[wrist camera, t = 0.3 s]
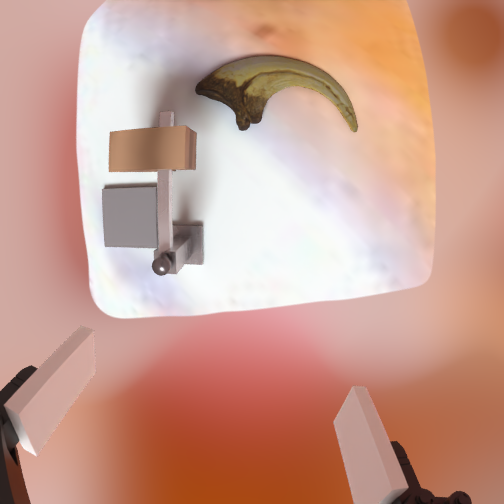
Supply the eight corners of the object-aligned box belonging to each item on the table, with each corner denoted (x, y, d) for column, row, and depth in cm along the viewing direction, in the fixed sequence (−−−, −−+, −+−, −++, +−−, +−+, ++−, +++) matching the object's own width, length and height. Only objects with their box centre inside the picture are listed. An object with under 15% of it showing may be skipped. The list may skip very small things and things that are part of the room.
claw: (202, 135, 36) (197, 131, 33) (199, 64, 33) (194, 54, 30) (354, 130, 36) (363, 126, 32) (346, 61, 33) (353, 52, 30)
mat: (104, 188, 37) (102, 189, 37) (157, 186, 37) (155, 187, 37) (106, 245, 39) (104, 246, 39) (158, 247, 39) (156, 248, 39)
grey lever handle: (166, 125, 35) (136, 110, 25) (204, 124, 35) (185, 106, 25) (166, 262, 40) (139, 289, 30) (203, 263, 40) (185, 291, 30)
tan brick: (146, 171, 37) (108, 171, 26) (147, 141, 36) (109, 131, 25) (204, 170, 37) (184, 168, 26) (205, 139, 36) (185, 125, 25)
